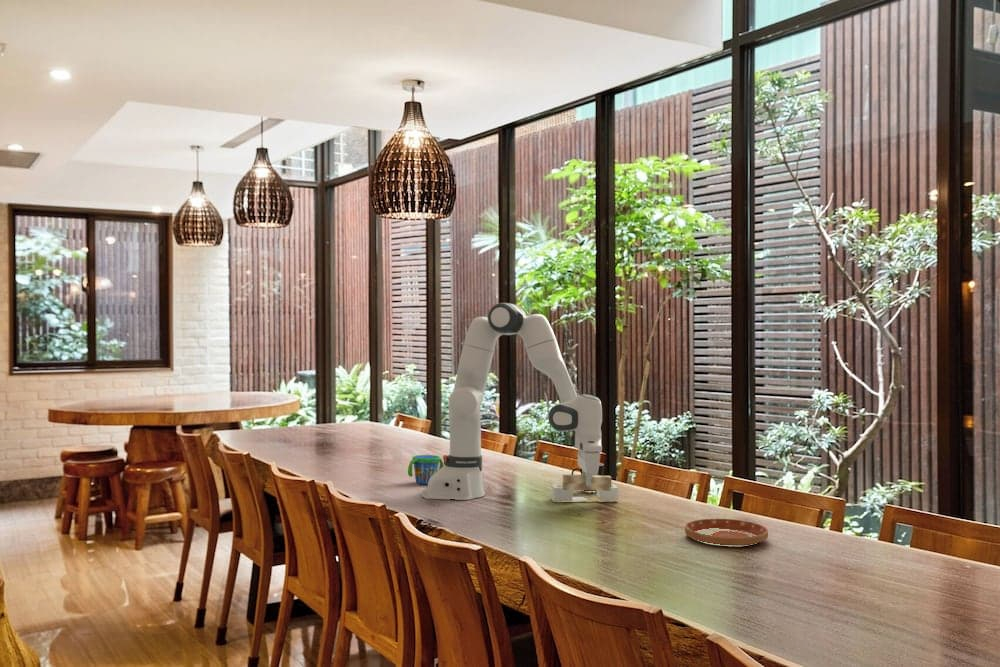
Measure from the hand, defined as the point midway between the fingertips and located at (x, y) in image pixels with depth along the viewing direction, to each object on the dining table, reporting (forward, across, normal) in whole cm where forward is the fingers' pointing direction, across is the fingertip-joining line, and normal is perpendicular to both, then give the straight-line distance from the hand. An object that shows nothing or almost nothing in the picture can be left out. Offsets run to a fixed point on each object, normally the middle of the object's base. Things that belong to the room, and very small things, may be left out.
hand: (586, 484), depth 286 cm
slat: (+2, 0, 0) cm, 2 cm away
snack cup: (+9, -41, -54) cm, 69 cm away
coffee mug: (+7, -24, +5) cm, 26 cm away
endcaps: (+7, -8, +1) cm, 10 cm away
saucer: (+7, +47, +32) cm, 57 cm away
